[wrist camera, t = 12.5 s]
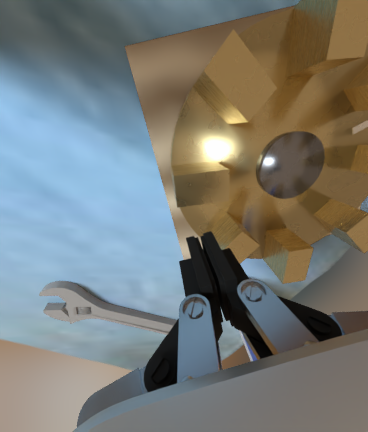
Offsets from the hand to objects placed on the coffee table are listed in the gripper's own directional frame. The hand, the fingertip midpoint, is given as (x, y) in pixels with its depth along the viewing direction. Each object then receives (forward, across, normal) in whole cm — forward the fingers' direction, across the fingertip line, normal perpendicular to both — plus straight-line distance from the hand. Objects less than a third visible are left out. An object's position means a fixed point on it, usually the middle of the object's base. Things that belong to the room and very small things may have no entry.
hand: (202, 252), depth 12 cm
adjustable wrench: (+12, +13, +18) cm, 25 cm away
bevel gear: (+9, -10, -2) cm, 14 cm away
